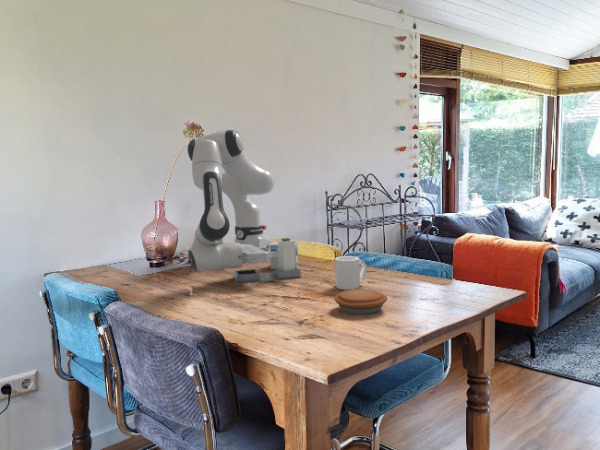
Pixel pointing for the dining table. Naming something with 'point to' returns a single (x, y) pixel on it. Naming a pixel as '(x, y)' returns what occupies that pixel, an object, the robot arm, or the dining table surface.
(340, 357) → the dining table surface
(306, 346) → the dining table surface
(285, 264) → the white rectangular bottle
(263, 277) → the grey double tray
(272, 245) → the light bulb box
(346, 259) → the mug
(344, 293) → the pie
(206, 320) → the dining table surface
